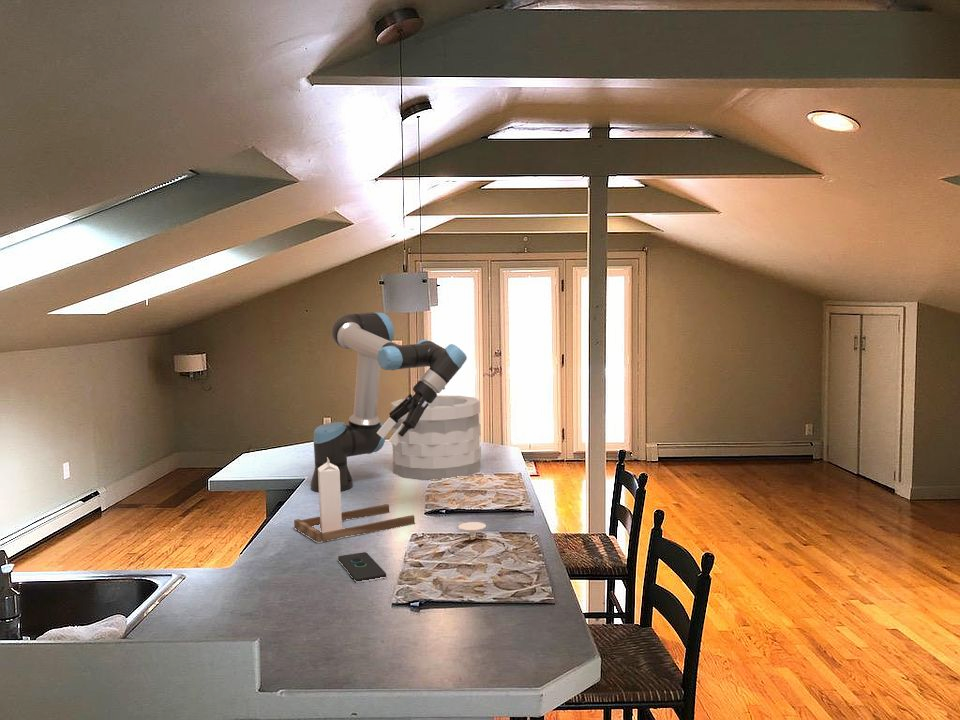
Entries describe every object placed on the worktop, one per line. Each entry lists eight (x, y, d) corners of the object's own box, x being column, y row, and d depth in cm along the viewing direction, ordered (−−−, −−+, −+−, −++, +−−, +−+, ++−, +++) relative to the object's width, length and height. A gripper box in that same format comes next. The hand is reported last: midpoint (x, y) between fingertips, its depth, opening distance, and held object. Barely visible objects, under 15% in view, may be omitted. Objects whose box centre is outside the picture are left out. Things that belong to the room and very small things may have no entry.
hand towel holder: (452, 545, 228) (441, 524, 248) (452, 561, 229) (441, 539, 249) (513, 540, 231) (497, 519, 252) (514, 556, 232) (498, 534, 252)
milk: (340, 527, 262) (337, 456, 260) (342, 532, 256) (339, 459, 254) (319, 528, 260) (317, 457, 258) (321, 534, 254) (319, 461, 252)
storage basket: (482, 459, 355) (480, 394, 352) (480, 479, 320) (478, 407, 317) (398, 461, 356) (396, 396, 353) (387, 481, 321) (384, 409, 318)
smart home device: (366, 551, 234) (387, 573, 216) (366, 557, 235) (387, 580, 216) (336, 555, 231) (355, 578, 213) (337, 562, 231) (355, 585, 213)
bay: (294, 529, 261) (294, 519, 261) (387, 511, 279) (387, 502, 278) (317, 543, 246) (317, 533, 246) (414, 523, 264) (414, 514, 264)
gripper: (451, 399, 259) (406, 454, 255) (424, 390, 282) (383, 439, 278) (433, 384, 256) (388, 438, 252) (408, 375, 279) (366, 425, 275)
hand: (385, 439), depth 265 cm, fingers open, 13 cm apart
